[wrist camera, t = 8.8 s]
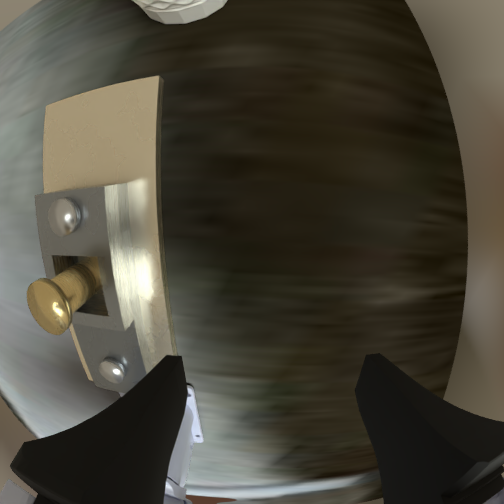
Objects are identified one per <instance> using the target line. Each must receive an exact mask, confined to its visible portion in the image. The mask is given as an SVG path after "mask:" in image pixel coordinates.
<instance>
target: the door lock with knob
mask: <svg viewBox="0 0 504 504" xmlns="http://www.w3.org/2000/svg"><path fill="white" fill-rule="evenodd" d="M163 87H164V80H163V79H162V78H161V77H160V76H154V77H148V78H143V79H137V80H132V81H128V82H123V83H119V84H114V85H110V86H106V87H102V88H99V89H95V90H92V91H88V92H85V93H81V94H78V95H75V96H72V97H69V98H66V99H63V100H60V101H58V102H55V103H52V104H50V105H47V106H46V112H45V123H44V140H43V184H44V194H39V195H35V204H36V215H37V224H38V232H39V239H40V245H41V251H42V257H43V262H44V267H45V272H46V276H47V279H50V280H51V279H52V278H54V277H55V276H57V275H58V274H60V273H62V272H63V271H65V270H66V269H68V268H69V267H71V266H73V265H74V264H76V263H77V262H79V261H81V260H82V259H84V258H86V257H87V256H95V257H97V259H98V265H99V271H100V277H101V282H102V288H101V289H100V290H99V291H98V292H96V293H95V294H94V295H93V296H92V297H91V298H90V299H89V300H87V301H86V302H85V303H84V304H83V305H82V306H81V307H80V308H79V309H77V310H76V311H75V312H74V313H73V314H72V315H73V318H72V323H71V325H70V326H69V328H70V331H71V334H72V337H73V340H74V343H75V346H76V349H77V351H78V354H79V357H80V359H81V362H82V364H83V367H84V369H85V372H86V374H87V376H88V379H89V380H91V381H94V384H95V386H96V387H99V388H103V389H107V390H112V391H116V392H120V393H125V394H126V393H127V392H128V391H129V390H130V389H132V388H133V387H134V386H135V385H136V384H137V383H138V382H139V381H140V380H141V379H142V378H143V377H145V376H146V375H147V374H148V373H149V372H150V371H151V370H152V369H153V368H154V367H155V366H156V365H157V364H158V363H159V362H160V361H161V360H162V359H163V358H164V357H165V356H166V355H175V356H178V354H177V348H176V342H175V336H174V329H173V322H172V315H171V307H170V299H169V291H168V282H167V272H166V261H165V250H164V236H163V219H162V195H161V125H162V102H163Z"/></svg>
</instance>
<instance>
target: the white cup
mask: <svg viewBox="0 0 504 504" xmlns="http://www.w3.org/2000/svg"><path fill="white" fill-rule="evenodd" d="M132 1H134V2H135V3H136V4H138V5H139V6H140V7H141V8H142V9H143V10H144V11H145V13H146V14H147V15H148V16H149V17H150V18H151V19H153V20H156V21H159V22H161V23H164V24H186V23H189V22H193V21H196V20H199V19H202V18H206V17H208V16H209V15H211V14H212V13H214V12H215V11H217V10H218V9H220V8H222V7H223V6H224V5H225V3H226V2H227V0H132Z"/></svg>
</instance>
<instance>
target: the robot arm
mask: <svg viewBox="0 0 504 504" xmlns="http://www.w3.org/2000/svg"><path fill="white" fill-rule="evenodd" d="M188 393H189V394H188ZM355 393H356V398H357V403H358V407H359V411H360V413H361V416H362V419H363V422H364V424H365V427H366V430H367V432H368V435H369V437H370V440H371V443H372V446H373V448H374V451H375V454H376V458H377V462H378V467H379V471H380V477H381V483H382V490H383V499H384V504H504V478H503V477H502V475H501V474H502V473H503V472H504V467H503V466H502V465H503V464H504V422H501V421H495V420H492V419H488V418H484V417H481V416H478V415H475V414H473V413H470V412H468V411H465V410H463V409H460V408H458V407H456V406H454V405H452V404H450V403H448V402H447V401H445V400H443V399H441V398H440V397H438V396H436V395H435V394H433V393H432V392H430V391H429V390H427V389H426V388H424V387H423V386H421V385H420V384H419V383H417V382H416V381H415V380H413V379H412V378H411V377H409V376H408V375H407V374H405V373H404V372H403V371H402V370H400V369H399V368H398V367H397V366H395V365H394V364H393V363H392V362H390V361H389V360H388V359H386V358H385V357H384V356H382V355H381V354H380V353H378V354H370V355H366V357H365V360H364V364H363V367H362V370H361V373H360V376H359V379H358V382H357V385H356V388H355ZM119 394H120V396H121V398H119V399H118V400H117V401H116V402H114V403H113V404H112V405H110V406H109V407H107V408H106V409H105V410H103V411H101V412H100V413H98V414H97V415H95V416H93V417H92V418H90V419H88V420H86V421H84V422H82V423H80V424H78V425H76V426H74V427H72V428H70V429H67V430H65V431H62V432H60V433H57V434H54V435H51V436H48V437H44V438H41V439H37V440H32V441H28V442H24V443H23V445H22V447H21V448H20V450H19V452H18V453H17V455H16V456H15V458H14V460H13V461H12V463H11V465H10V467H11V469H12V471H13V472H14V473H15V474H16V475H17V476H18V477H19V478H20V479H21V480H23V481H24V482H25V483H26V484H27V485H29V486H30V487H31V488H32V489H33V490H35V491H36V492H37V493H38V495H37V497H36V498H35V497H34V496H32V495H31V494H29V493H28V492H27V491H25V490H24V489H22V488H21V487H19V486H18V485H17V484H15V483H14V482H12V481H11V480H10V479H8V480H7V482H6V484H5V486H4V488H3V490H2V491H1V493H0V504H193V503H192V502H191V501H190V500H188V499H186V498H185V496H186V491H187V490H186V489H185V488H183V487H184V485H185V483H186V481H187V476H188V471H189V466H190V461H191V456H192V450H193V445H194V442H198V443H202V442H203V440H204V438H203V433H202V429H201V424H200V419H199V414H198V409H197V404H196V398H195V393H194V389H193V387H192V386H189V385H187V383H186V378H185V372H184V367H183V361H182V356H175V355H166V356H165V357H164V358H163V359H162V360H161V361H160V362H159V363H158V364H157V365H156V366H155V367H154V368H153V369H152V370H151V371H150V372H149V373H148V374H147V375H146V376H145V377H143V378H142V379H141V380H140V381H139V382H138V383H137V384H136V385H135V386H134V387H133V388H132V389H130V390H129V391H128V392H127V393H126V394H125V393H120V392H119Z"/></svg>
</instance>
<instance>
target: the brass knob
mask: <svg viewBox="0 0 504 504" xmlns="http://www.w3.org/2000/svg"><path fill="white" fill-rule="evenodd" d="M101 288H102V282H101V277H100V271H99V265H98V259H97V257H95V256H87V257H86V258H84V259H82V260H81V261H79V262H77V263H76V264H74V265H73V266H71V267H69V268H68V269H66V270H65V271H63V272H62V273H60V274H58V275H57V276H55V277H54V278H52V279H51V280H50V279H47V278H40V279H38V280H36V281H35V282H33V283H32V284H31V285H30V286H29V287H28V290H27V302H28V306H29V309H30V311H31V313H32V315H33V317H34V318H35V320H36V321H37V323H38V324H39V325H40V326H41V327H42V328H43V329H44V330H46V331H47V332H49V333H51V334H54V335H60V334H62V333H64V332H65V331H66V330H67V329H68V328H69V326H70V325H71V323H72V318H73V315H72V314H73V313H74V312H75V311H76V310H77V309H79V308H80V307H81V306H82V305H83V304H84V303H85V302H86V301H87V300H89V299H90V298H91V297H92V296H93V295H94V294H95V293H96V292H98V291H99V290H100V289H101Z"/></svg>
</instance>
